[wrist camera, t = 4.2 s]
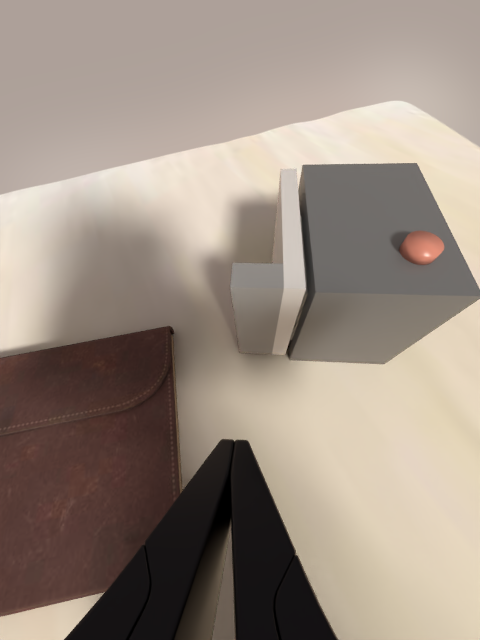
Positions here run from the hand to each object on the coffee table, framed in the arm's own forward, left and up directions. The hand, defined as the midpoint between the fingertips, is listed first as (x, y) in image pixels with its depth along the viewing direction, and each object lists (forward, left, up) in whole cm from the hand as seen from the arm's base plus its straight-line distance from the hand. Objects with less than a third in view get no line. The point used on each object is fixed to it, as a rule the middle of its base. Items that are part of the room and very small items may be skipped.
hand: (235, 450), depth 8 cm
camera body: (+12, +4, -9) cm, 16 cm away
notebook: (-12, +8, -10) cm, 18 cm away
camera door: (+8, +8, -9) cm, 15 cm away
